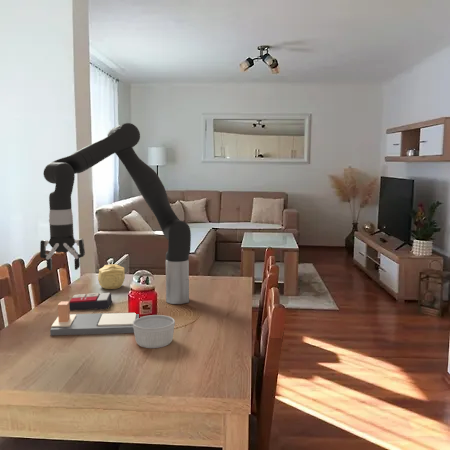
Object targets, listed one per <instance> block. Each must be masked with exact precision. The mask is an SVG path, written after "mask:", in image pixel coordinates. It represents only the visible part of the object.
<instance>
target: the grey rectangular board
mask: <svg viewBox="0 0 450 450" xmlns="http://www.w3.org/2000/svg"><path fill="white" fill-rule="evenodd" d="M72 314H73V313H70V315H72ZM76 314H77V316H76V317H75V319H74V321H73V322H72V324H71V326H70V327H51V328H50V329H49V331H50V333H49V334H50V336H70V335H72V336H74V335H75V336H76V335H79V336H80V335H104V334H105V335H106V334H110V335H111V334H134V328H133V321H134V320H136V319H137V318H139V314H136V313H135V312H106V313H104V312H101V313H76Z"/></svg>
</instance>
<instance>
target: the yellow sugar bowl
mask: <svg viewBox="0 0 450 450" xmlns="http://www.w3.org/2000/svg"><path fill="white" fill-rule="evenodd" d="M125 278H126V274H125V267H123V266H121V265H118V263H115V264H112V263H110V264H104V266H103V267H101V268H99V269H98V275H97V279H98V280H97V281H98V283H99V285H100V287H101V288H103V289H104V290H117V289H120V288H121V287H122V286H123V284H124V282H125V280H126V279H125Z"/></svg>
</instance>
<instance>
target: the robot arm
mask: <svg viewBox="0 0 450 450" xmlns="http://www.w3.org/2000/svg"><path fill="white" fill-rule="evenodd" d="M140 139H141V132H140V130H139V129H138V127H137V126H136V125H135V124H133V123H131V122H126V123H122V124H119V125H116V126H115V127H112V128H111V129H109V130H108V132H107V137H104V138H103V139H100V140H98V141H96V142H94V143H90V144H89V145H86V146H85V147H82V148H80V149H78V150H77V151H74V152H73V153H71V154H70V155H67V156H64V157H61V158H58V159H56V160H54V161H50V162H49V163H48V164H47V165H46V166H45V168H44V169H43V177H44V179H45V181H46V182H48V183H49V184H55V185H54V186H55V188H54V190H53V191H51V192H50V193H49V196H48V203H49V214H48V217H49V219H48V222H49V239H48V240H47V239H42V240H40V245H39V246H40V247H39V249H40V250H39V253H40V254H39V255H40V257H39V258H41V259H45V260H46V269H47V270H48V271H52V270H53V259H52V257H53V255H54V254H55V253H58V254H59V253H70V255H72V256H73V257H74V260H73V261H74V270H76V271H77V270H78V269H79V268H80V266H81V265H80V264H81V263H80V261H81V260H80V258H83V257H84V256H85V254H86V253H85V250H86V249H85V242H84V238H79V239H75V237H74V236H75V235H74V218H73V217H74V216H73V210H72V193H73V189H74V184H75V177H76V176H75V174H82V173H84V172H85V171H87V170H89V169H90V168H92V167H94V166H95V165H97V164H99V163H100V162H102V161H104V160H105V159H107V158H108V157H110V156H112V155H114V154H115V155H116V157H118V158H119V160H120V162H121V163H122V165H123V166H124V167H125V169H126V171H127V172H128V174H129V175H130V177H131V179H132V180H133V182H134V184H135V185H136V187H137V189H138V191H139V194H141V196H142V198H143V200H144V201H145V202H146V204H147V205H148V207H149V209H150V210H151V211H152V212H153V213H152V214H154V217H155V218H156V220H157V223H158V225H159V226H160V229H161V231H162V233H163V235H164V237H165V238H166V239H167V241H168V247H167V251H166V253H165V302H166V303H167V304H171V305H181V304H188V303H189V304H190V279H189V277H190V274H189V273H190V270H189V266H190V264H189V263H190V262H189V260H190V259H189V258H190V253H191V246H192V245H191V242H192V241H191V238H192V234H191V228H190V225H189V224H188V223H187V222H186V221H183V220H182V219H180V218H179V217H178V215H177V214H176V213H175V212H174V210H173V208H172V207H171V205H170V202H169V197H168V193H167V191H166V188H165V186H164V184H163V181H162V180H161V178H160V177H159V175H158V173H157V172H156V171H155V170H154V169H153V168H152V167H151V166H149V165H148V164H147V163H146V162H145V161H143V160H142V159H141V158H140V157H139V156H138V154H137V153H136V151H135V149H134V147H135V146H137V144H139V142H140ZM75 244H76V246H79V247H78V248H79V253H78V251H77V250H76V248H74V246H75ZM48 245H49V246H50V247H51V249H50V251H49V252H48V253H47V251H46V248H47V246H48Z"/></svg>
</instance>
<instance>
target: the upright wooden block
mask: <svg viewBox="0 0 450 450" xmlns="http://www.w3.org/2000/svg"><path fill="white" fill-rule="evenodd" d="M69 301H70V300H69ZM69 301H67V300H65V301H64V300H63V301H62V300H61V301H60V302H59V303H58V304H57V310H58V311H57V313H58V316H57V317H56V319H55V320H54V321H53V323H52V325H51V326H50V327H51V328H52V327H70V326H71V324H72V322H73V321H74V319H75V317H76V316H77V314H78V313H71V310H70V305H69ZM70 314H72V315H70Z"/></svg>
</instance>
